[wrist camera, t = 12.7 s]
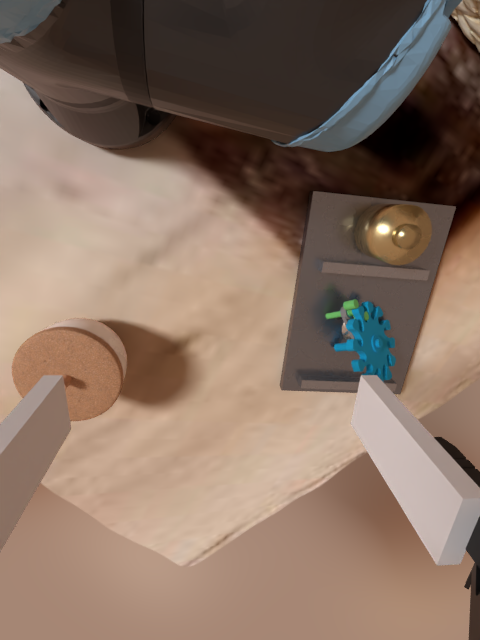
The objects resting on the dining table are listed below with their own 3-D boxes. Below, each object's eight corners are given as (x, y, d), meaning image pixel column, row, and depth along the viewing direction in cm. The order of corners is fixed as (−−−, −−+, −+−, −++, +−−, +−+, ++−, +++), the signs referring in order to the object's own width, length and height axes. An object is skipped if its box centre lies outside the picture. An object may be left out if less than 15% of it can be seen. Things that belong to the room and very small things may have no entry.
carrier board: (310, 191, 37) (333, 189, 30) (449, 206, 39) (500, 208, 32) (279, 385, 46) (292, 419, 39) (395, 389, 48) (427, 422, 41)
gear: (408, 356, 42) (381, 406, 36) (365, 359, 47) (334, 404, 40) (377, 278, 40) (342, 317, 34) (334, 289, 44) (297, 326, 38)
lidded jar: (101, 289, 39) (70, 316, 30) (153, 359, 43) (139, 401, 34) (26, 332, 40) (-25, 371, 31) (83, 397, 44) (52, 448, 35)
